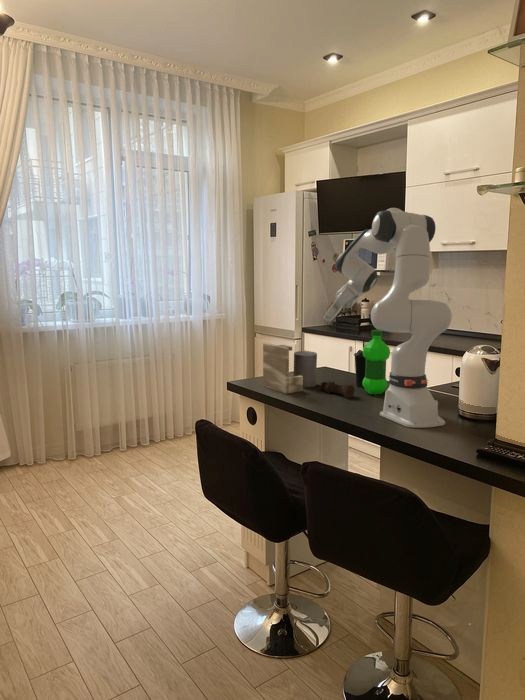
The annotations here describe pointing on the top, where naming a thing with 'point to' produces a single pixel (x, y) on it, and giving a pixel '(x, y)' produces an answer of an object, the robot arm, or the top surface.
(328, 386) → the bolt
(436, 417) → the robot arm
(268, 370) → the cradle
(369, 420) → the top surface
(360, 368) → the drinking cup
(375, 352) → the plastic bottle
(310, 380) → the pillar candle
